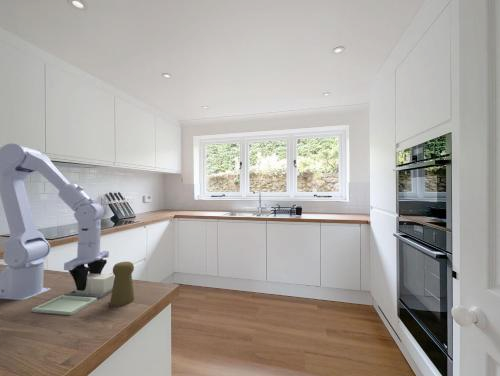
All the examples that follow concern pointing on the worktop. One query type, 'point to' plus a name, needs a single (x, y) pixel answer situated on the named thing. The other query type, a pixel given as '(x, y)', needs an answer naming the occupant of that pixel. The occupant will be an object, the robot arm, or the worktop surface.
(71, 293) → the tray
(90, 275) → the stone block
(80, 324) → the worktop surface
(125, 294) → the cork
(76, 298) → the tray
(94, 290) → the stone block
